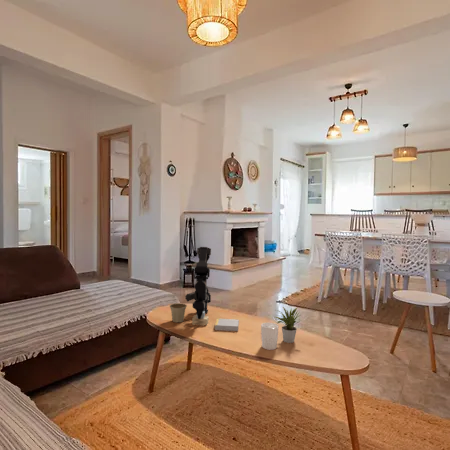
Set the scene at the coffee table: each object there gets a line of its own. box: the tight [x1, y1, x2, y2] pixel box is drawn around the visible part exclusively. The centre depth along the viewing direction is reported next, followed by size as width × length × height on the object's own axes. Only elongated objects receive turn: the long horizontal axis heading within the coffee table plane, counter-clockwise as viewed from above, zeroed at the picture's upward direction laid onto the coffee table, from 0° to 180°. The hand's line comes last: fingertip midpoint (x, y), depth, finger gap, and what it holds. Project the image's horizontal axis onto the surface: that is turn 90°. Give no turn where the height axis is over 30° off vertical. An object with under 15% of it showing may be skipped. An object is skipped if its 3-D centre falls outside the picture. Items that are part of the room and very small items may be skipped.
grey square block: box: [196, 311, 206, 319], centre depth 178 cm, size 4×4×3 cm
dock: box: [214, 318, 240, 332], centre depth 173 cm, size 11×12×3 cm
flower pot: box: [169, 303, 188, 324], centre depth 181 cm, size 9×9×9 cm
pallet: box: [191, 314, 210, 327], centre depth 178 cm, size 8×6×4 cm
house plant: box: [274, 306, 301, 344], centre depth 157 cm, size 14×14×16 cm
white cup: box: [260, 322, 279, 351], centre depth 148 cm, size 8×8×10 cm
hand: (200, 316), depth 178 cm, fingers open, 9 cm apart
